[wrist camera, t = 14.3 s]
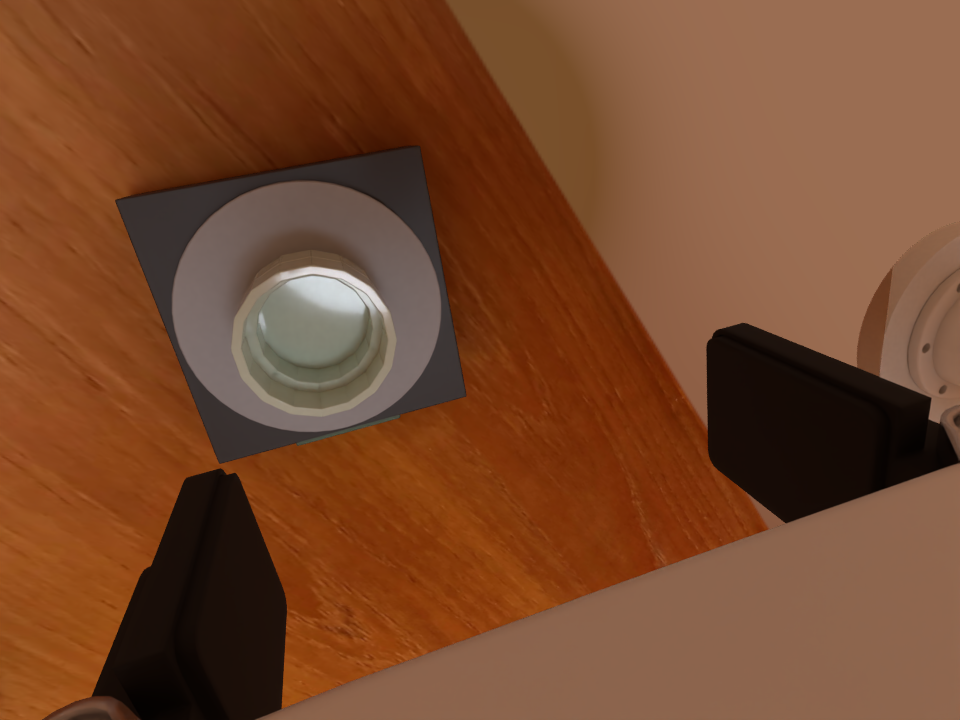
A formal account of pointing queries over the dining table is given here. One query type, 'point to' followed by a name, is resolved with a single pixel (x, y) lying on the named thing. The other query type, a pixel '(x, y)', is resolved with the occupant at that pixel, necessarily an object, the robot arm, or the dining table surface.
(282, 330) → the bowl
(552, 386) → the dining table surface
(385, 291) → the scale
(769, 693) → the robot arm
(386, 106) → the dining table surface
